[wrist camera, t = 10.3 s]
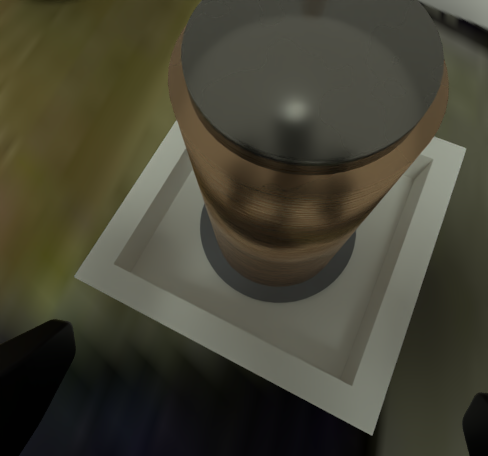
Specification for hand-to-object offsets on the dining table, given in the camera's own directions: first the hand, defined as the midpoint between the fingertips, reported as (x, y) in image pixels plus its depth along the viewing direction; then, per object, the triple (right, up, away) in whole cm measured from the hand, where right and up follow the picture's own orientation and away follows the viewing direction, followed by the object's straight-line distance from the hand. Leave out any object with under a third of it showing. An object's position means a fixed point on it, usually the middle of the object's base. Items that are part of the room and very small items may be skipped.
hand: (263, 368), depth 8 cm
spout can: (+1, +3, +9) cm, 10 cm away
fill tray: (+1, +3, +10) cm, 11 cm away
